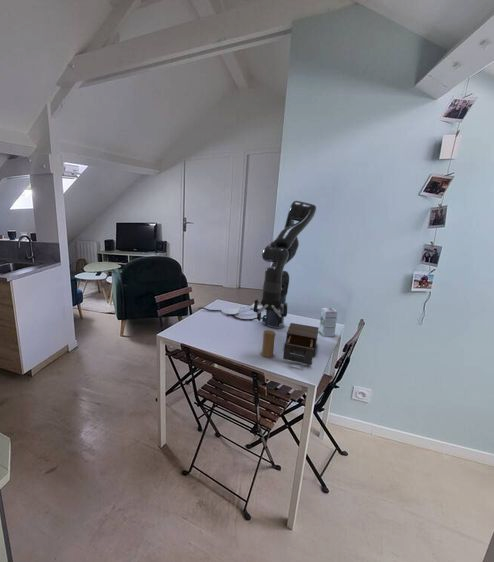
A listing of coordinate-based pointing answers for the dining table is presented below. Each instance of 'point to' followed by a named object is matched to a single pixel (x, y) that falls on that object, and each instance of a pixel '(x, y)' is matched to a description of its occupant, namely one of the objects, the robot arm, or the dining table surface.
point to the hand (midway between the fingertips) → (268, 322)
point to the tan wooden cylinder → (268, 343)
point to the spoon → (235, 311)
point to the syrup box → (328, 321)
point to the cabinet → (303, 333)
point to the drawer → (299, 349)
